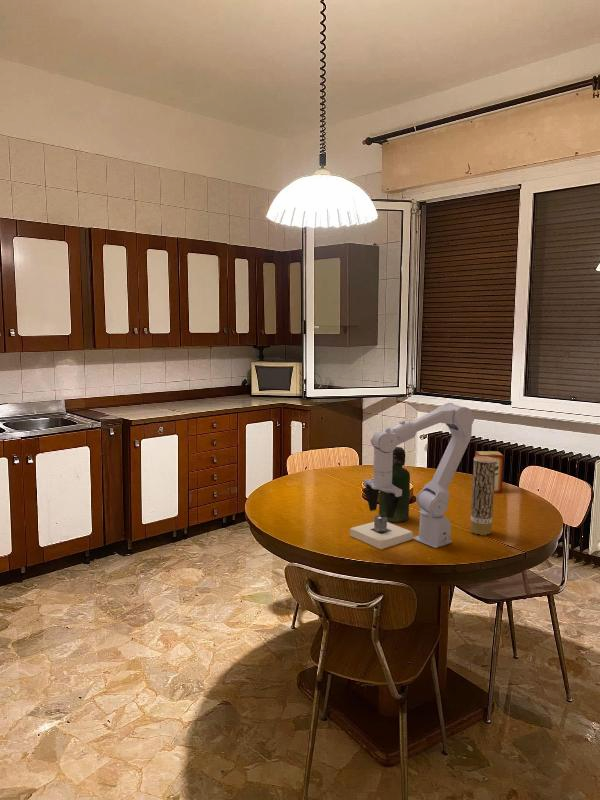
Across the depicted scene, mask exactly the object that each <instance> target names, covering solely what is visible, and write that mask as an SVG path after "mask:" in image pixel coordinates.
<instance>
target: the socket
mask: <svg viewBox="0 0 600 800" xmlns="http://www.w3.org/2000/svg"><path fill="white" fill-rule="evenodd" d="M413 533H414V532H413V531H411V530H409V529H406V528H403V527H401V526H399V525H396V524H393V523H391V522H390V521H387V533H383V534H379V533H377V532H375V531H374V521H372V522H368V523H365V524H361V525H358V526H357V525H356V526H353V527H350V528H349V536H350V537H352V538H355V539H356V540H358V541H361V542H363V543H366V544H368V545H370V546H372V547H375V548H376V549H379V550H383V549H386V548H389V547H393V546H396V545H398V544H403V543H405V542H408V541H412V540H413Z"/></svg>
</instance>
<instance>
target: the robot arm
mask: <svg viewBox="0 0 600 800" xmlns="http://www.w3.org/2000/svg"><path fill="white" fill-rule="evenodd" d="M474 422H475V417H474V415H473V413H472V410H471V409H470V408H469V407H466V406H461V405H457V404H454V403H453V402H448V403H445V404H443V405H439V406H438V407H436V408H435V409H434V410H432V411H430V412H428V413H426V414H425V415H422V416H420V417H419V418H417V419H415V420H413V421H410V420H408V419H407V420H404V419H401V420H399V422H398V424H395V425H393V426H391V427H389V426H387V427H385V430H378V431H375V432H374V433H373V435H372V437H371V439H370V443H371V445H372V447H373V465H372V466H373V472H372V474H373V476H372V479H371V478H367V479H365V478H364V479H363V486H364V488H362V492H363V493H364V495H365V497H366V500H367V504H368V507H369V511H370V512H373V511H376V510H377V507H378V499H379V498H378V497H379V494H380V490H381V491H384V492H387V493H389V495H385V496H384V498H385V500H386V505H387V517H388V518H391V517H394V513H395V510H396V507H397V505H398V503H399V501H400V499H401V498H402V489H399V488H397V487H396V486H394V485H393V484H392V465H393V450H394V449H395V448H396V447H398V446H399V445H401V444H403V443H405V442H407V441H410V440H411V439H414V438H415V437H416V436H417V435H416V434H417V433H418V432H420V431H423V430H426V429H428V428H430V427H432V426H434V425H437V424H440V423H441V424H444V425H446V427H448V430H449V431H450V434H451V437H450V440H449V442H448V445H447V446H446V449H445V451H444V453H443V455H442V457H441V459H440V461H439V464H438V466H437V468H436V471H435V472H434V474H433V477H432V479H431V480H430V481H429V482H427V483H425V484H424V486H423V488H422V489H421V490H420V491H419V492H418V493H417V495H416V503H417V505H418V506H419V524H418V525H419V526H418V527H419V528H418V535H416V536H412V540H415V541H417V542H418V543H422V544H424V545H427V546H430V547H432V548H434V549H437V548H439V547H444V546H446V545H448V544H451V543H453V541H452V540H451V533H452V523H451V520H450V519H449V518H448V517H446V516H445V515H444V514H446V513H447V510H448V507H449V504H448V503H449V500H450V495H451V494H450V493H449V487H450V485H451V483H452V480H453V478H454V476H455V474H456V472H457V470H458V467H459V464H460V463H461V461H462V458H463V457H464V454H465V452H466V449H467V448H468V445H469V443H470V441H471V439H472V429H473V423H474Z"/></svg>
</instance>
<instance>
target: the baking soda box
mask: <svg viewBox="0 0 600 800" xmlns="http://www.w3.org/2000/svg"><path fill="white" fill-rule="evenodd" d="M476 456H488V457H493V458H495V459H496V465H495V482H494V494H502V493H503V492H502V491H503V490H502V489H503V476H504V459H505V458H504V457H505V455H504V454H503V453H501V452H500V451H496V450H495V451H493V450H491V451H490V450H488V451H487V450H486V451H483V450H482V451H481V450H480V451H477V450H475V455H474V457H476Z"/></svg>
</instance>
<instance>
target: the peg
mask: <svg viewBox="0 0 600 800" xmlns="http://www.w3.org/2000/svg"><path fill="white" fill-rule="evenodd" d="M373 520H374V521H373V522H374V531H375V532H377V533H379V534H383V533H387V522H388V521H387V516H384V515H379V514H376V515H374V519H373Z"/></svg>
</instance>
